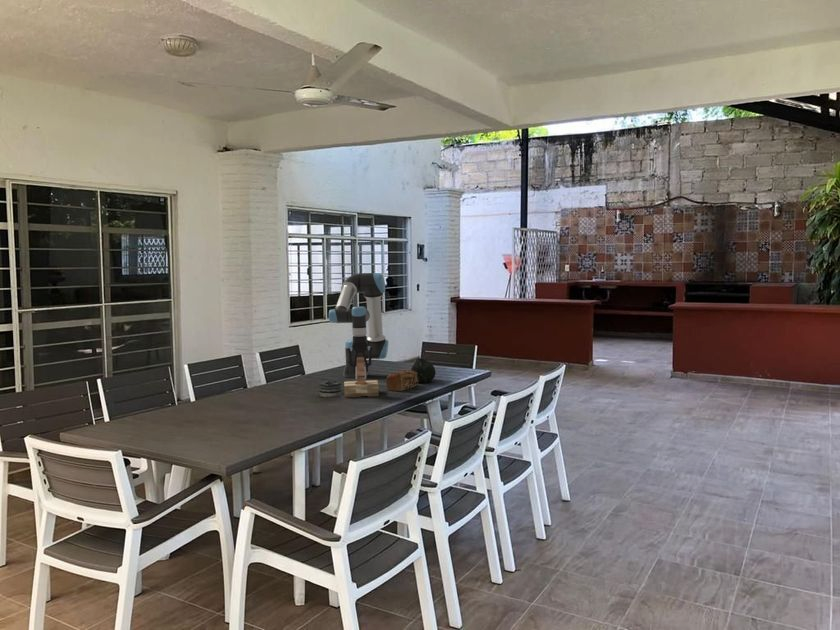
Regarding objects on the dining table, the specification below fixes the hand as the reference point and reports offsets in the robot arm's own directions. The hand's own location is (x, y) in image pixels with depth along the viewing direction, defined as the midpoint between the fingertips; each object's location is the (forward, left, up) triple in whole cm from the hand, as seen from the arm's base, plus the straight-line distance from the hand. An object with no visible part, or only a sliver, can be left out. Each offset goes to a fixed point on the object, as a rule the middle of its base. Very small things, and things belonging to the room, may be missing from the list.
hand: (360, 378), depth 353 cm
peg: (0, 0, -3) cm, 3 cm away
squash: (-27, +37, -9) cm, 47 cm away
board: (0, 0, -9) cm, 9 cm away
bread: (-12, +24, -9) cm, 28 cm away
